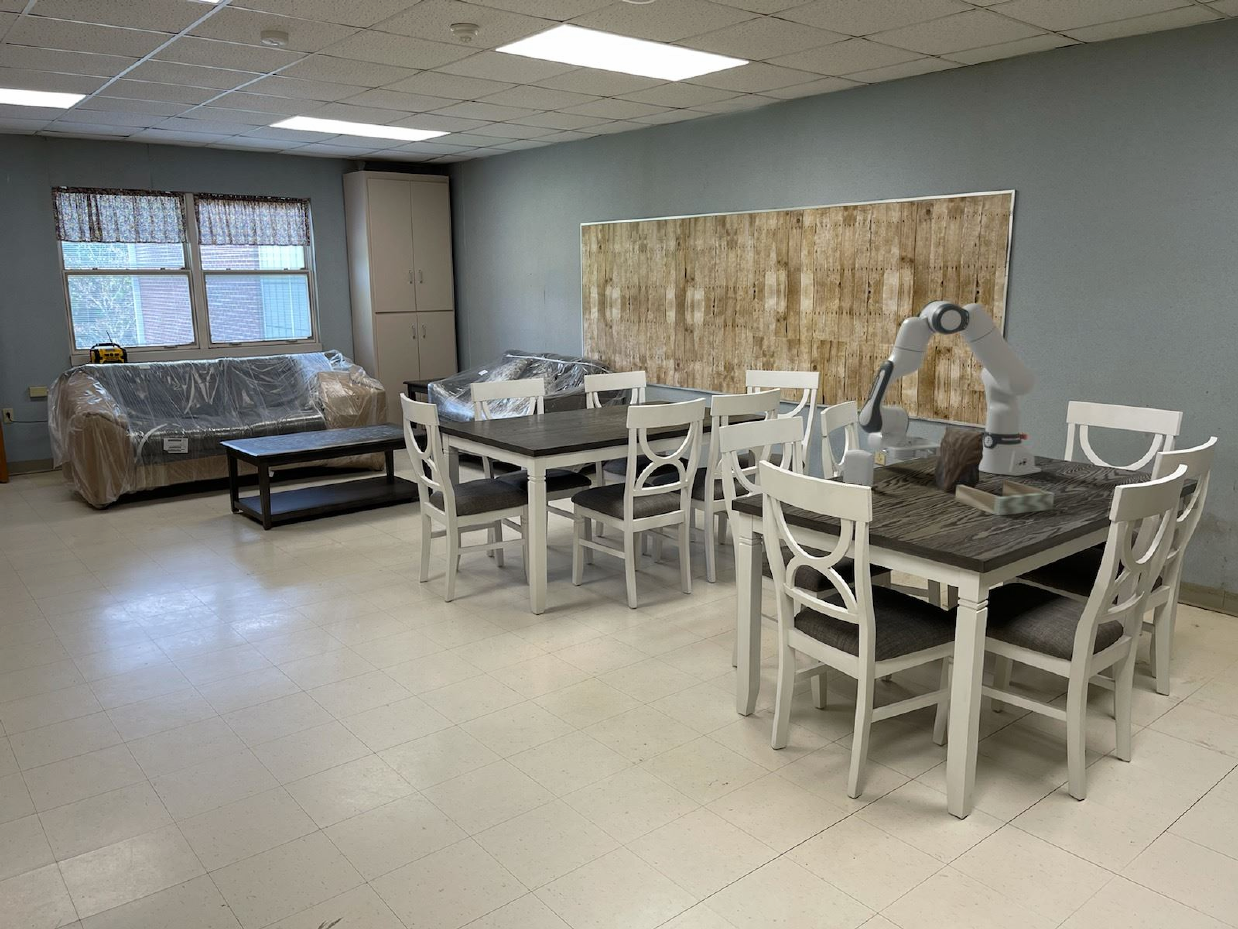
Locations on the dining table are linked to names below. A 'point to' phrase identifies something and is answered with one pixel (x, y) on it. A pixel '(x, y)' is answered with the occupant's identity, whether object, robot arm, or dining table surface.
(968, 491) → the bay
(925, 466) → the dining table surface
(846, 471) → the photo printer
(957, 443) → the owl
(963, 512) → the dining table surface
